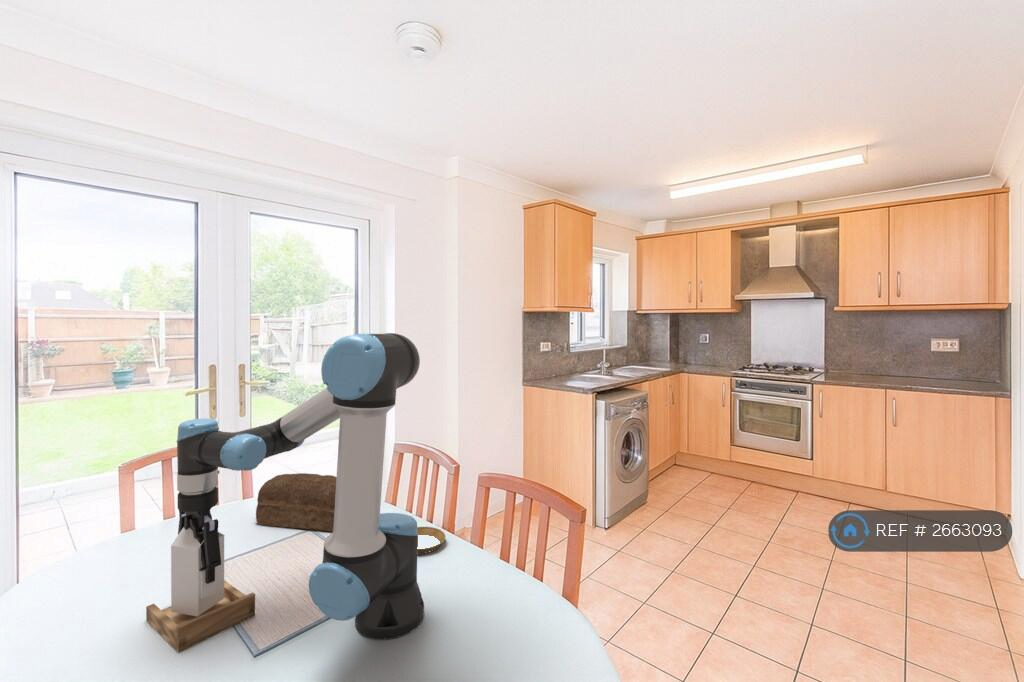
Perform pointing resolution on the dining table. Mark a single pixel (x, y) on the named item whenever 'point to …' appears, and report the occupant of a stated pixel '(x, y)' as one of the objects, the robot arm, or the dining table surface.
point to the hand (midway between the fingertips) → (198, 588)
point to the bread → (298, 501)
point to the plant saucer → (431, 532)
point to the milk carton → (192, 575)
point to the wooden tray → (201, 619)
